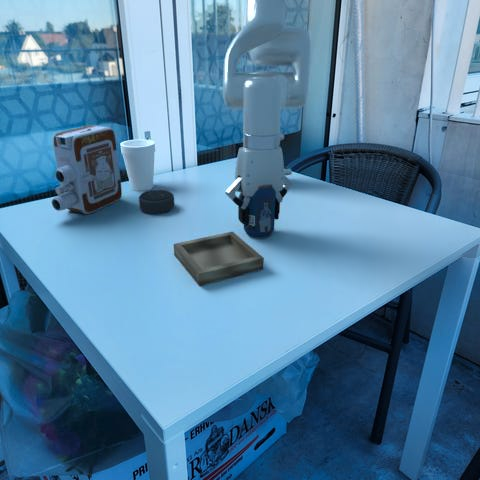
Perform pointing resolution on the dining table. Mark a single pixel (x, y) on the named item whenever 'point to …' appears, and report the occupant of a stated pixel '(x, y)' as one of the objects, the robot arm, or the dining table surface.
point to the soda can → (261, 213)
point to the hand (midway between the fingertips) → (259, 219)
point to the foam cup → (139, 163)
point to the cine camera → (86, 169)
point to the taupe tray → (217, 257)
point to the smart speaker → (156, 201)
